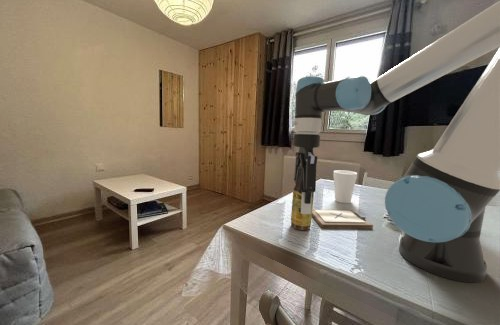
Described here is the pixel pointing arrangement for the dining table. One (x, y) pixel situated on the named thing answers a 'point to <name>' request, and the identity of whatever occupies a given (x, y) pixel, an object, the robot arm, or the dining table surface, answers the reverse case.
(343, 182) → the foam cup
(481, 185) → the robot arm
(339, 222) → the wooden board
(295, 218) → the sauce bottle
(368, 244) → the dining table surface
